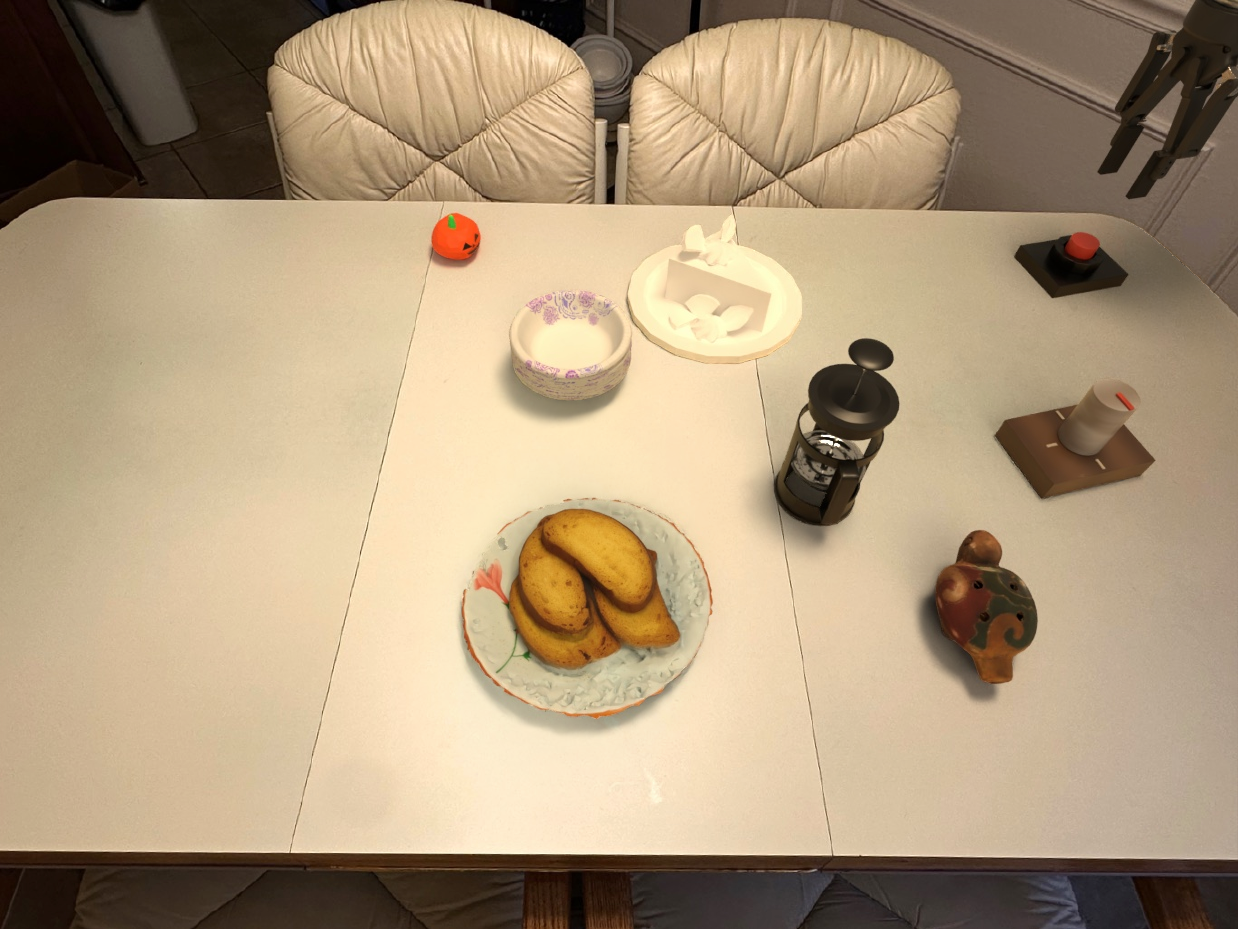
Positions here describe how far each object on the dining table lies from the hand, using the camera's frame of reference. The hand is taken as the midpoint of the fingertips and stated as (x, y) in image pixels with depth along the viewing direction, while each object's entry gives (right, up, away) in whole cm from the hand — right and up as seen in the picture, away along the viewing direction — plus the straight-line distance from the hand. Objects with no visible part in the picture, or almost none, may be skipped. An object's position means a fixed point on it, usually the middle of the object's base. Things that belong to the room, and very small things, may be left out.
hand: (1121, 183), depth 101 cm
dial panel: (-13, -37, -10) cm, 41 cm away
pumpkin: (-93, -6, +11) cm, 94 cm away
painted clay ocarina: (-32, -55, -24) cm, 68 cm away
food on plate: (-72, -53, -24) cm, 93 cm away
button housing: (0, -9, +12) cm, 15 cm away
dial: (-13, -35, -12) cm, 40 cm away
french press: (-46, -42, -14) cm, 64 cm away
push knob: (0, -7, +9) cm, 11 cm away
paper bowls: (-75, -27, -4) cm, 79 cm away
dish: (-55, -15, +6) cm, 57 cm away
